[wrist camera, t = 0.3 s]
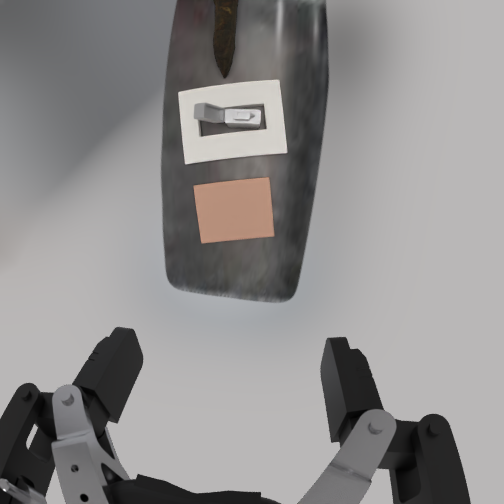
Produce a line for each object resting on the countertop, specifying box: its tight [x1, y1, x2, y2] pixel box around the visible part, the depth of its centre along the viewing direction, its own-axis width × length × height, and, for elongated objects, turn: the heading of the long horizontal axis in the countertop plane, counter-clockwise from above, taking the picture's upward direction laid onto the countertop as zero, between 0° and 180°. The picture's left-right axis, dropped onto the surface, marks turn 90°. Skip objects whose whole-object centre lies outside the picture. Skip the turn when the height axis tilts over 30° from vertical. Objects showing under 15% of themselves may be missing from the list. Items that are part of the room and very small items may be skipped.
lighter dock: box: [178, 80, 287, 164], centre depth 32 cm, size 10×13×2 cm
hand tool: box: [213, 0, 238, 78], centre depth 25 cm, size 19×4×5 cm, turn 177°
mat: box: [194, 177, 274, 243], centre depth 36 cm, size 8×10×1 cm
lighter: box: [194, 102, 261, 129], centre depth 29 cm, size 7×2×8 cm, turn 87°
